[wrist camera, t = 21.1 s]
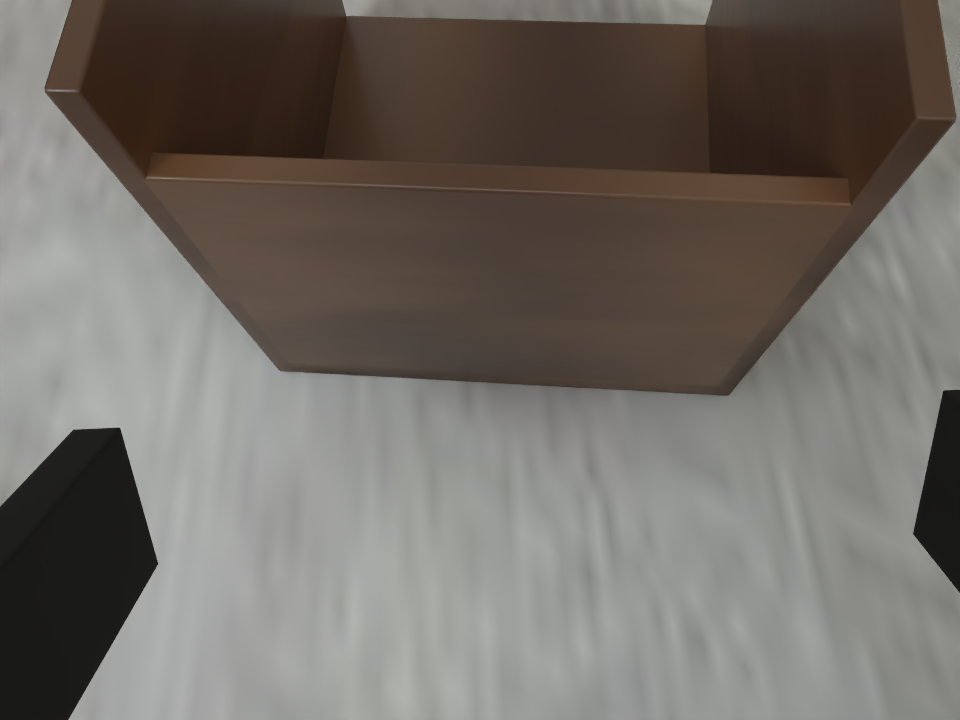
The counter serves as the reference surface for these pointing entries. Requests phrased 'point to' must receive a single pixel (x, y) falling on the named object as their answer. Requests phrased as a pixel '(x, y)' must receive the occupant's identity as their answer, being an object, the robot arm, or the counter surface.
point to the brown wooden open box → (509, 174)
